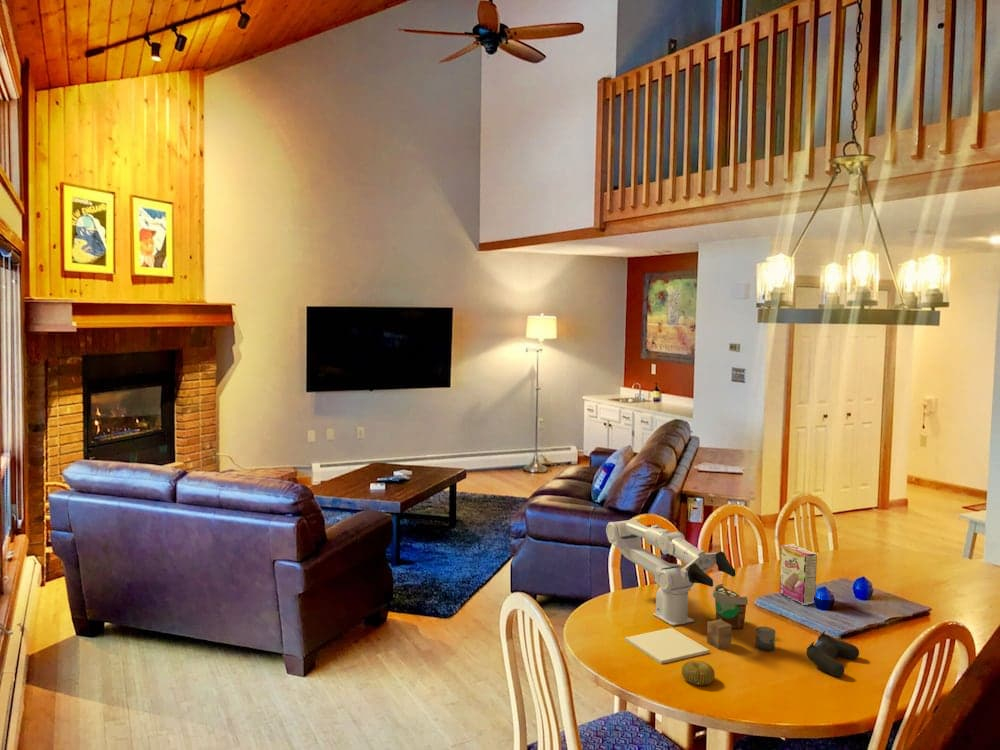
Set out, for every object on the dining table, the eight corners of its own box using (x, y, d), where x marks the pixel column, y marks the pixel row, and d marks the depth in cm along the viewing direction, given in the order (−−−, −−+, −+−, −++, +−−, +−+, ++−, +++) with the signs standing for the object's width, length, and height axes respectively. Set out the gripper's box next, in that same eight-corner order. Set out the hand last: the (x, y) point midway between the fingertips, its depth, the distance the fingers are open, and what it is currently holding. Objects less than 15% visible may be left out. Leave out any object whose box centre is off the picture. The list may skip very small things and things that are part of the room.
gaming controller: (851, 664, 212) (819, 637, 217) (863, 649, 209) (831, 622, 214) (831, 687, 199) (798, 657, 204) (845, 672, 196) (810, 642, 201)
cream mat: (625, 640, 219) (625, 637, 219) (671, 630, 226) (671, 627, 226) (660, 664, 205) (660, 661, 205) (709, 652, 212) (709, 649, 212)
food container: (703, 618, 236) (704, 585, 235) (720, 615, 238) (721, 583, 237) (728, 634, 224) (730, 599, 223) (746, 631, 226) (748, 597, 226)
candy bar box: (778, 594, 256) (780, 544, 255) (790, 592, 258) (792, 543, 256) (803, 606, 246) (805, 554, 244) (815, 604, 247) (818, 553, 246)
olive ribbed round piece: (721, 665, 196) (703, 675, 191) (720, 680, 196) (703, 691, 191) (692, 654, 202) (675, 664, 196) (692, 670, 202) (675, 680, 197)
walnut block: (706, 642, 218) (707, 621, 218) (719, 640, 220) (720, 619, 220) (718, 649, 214) (718, 627, 214) (730, 646, 216) (731, 625, 216)
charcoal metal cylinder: (751, 646, 217) (752, 628, 216) (765, 642, 219) (765, 625, 218) (764, 653, 212) (765, 635, 212) (778, 649, 214) (779, 632, 214)
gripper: (669, 553, 223) (701, 575, 211) (710, 535, 228) (743, 556, 216) (671, 574, 225) (702, 597, 213) (711, 556, 230) (744, 578, 219)
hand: (723, 578), depth 215 cm, fingers open, 7 cm apart
